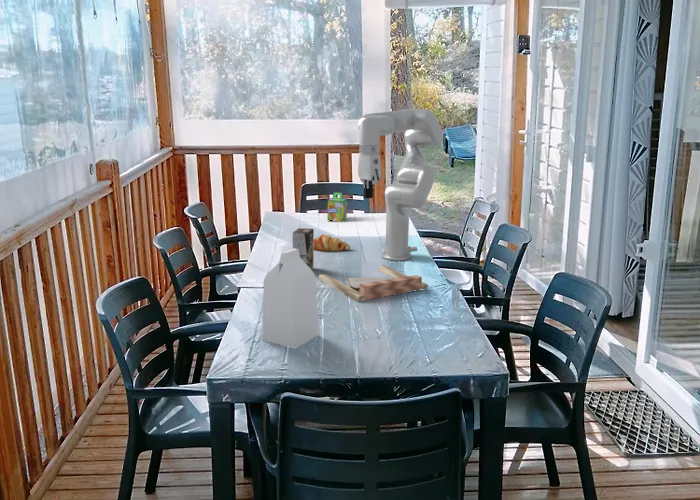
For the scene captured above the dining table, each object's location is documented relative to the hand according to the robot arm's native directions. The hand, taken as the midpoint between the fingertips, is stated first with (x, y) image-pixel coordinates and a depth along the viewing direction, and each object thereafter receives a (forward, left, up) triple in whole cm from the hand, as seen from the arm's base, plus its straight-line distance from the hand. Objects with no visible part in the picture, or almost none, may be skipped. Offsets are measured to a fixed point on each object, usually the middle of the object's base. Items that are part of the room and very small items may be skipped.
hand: (368, 197), depth 252 cm
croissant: (-2, -37, -30) cm, 48 cm away
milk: (+56, +50, -29) cm, 81 cm away
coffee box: (+22, -12, -29) cm, 39 cm away
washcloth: (+10, +19, -30) cm, 37 cm away
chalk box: (-37, -92, -29) cm, 103 cm away
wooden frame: (+8, +17, -29) cm, 35 cm away
